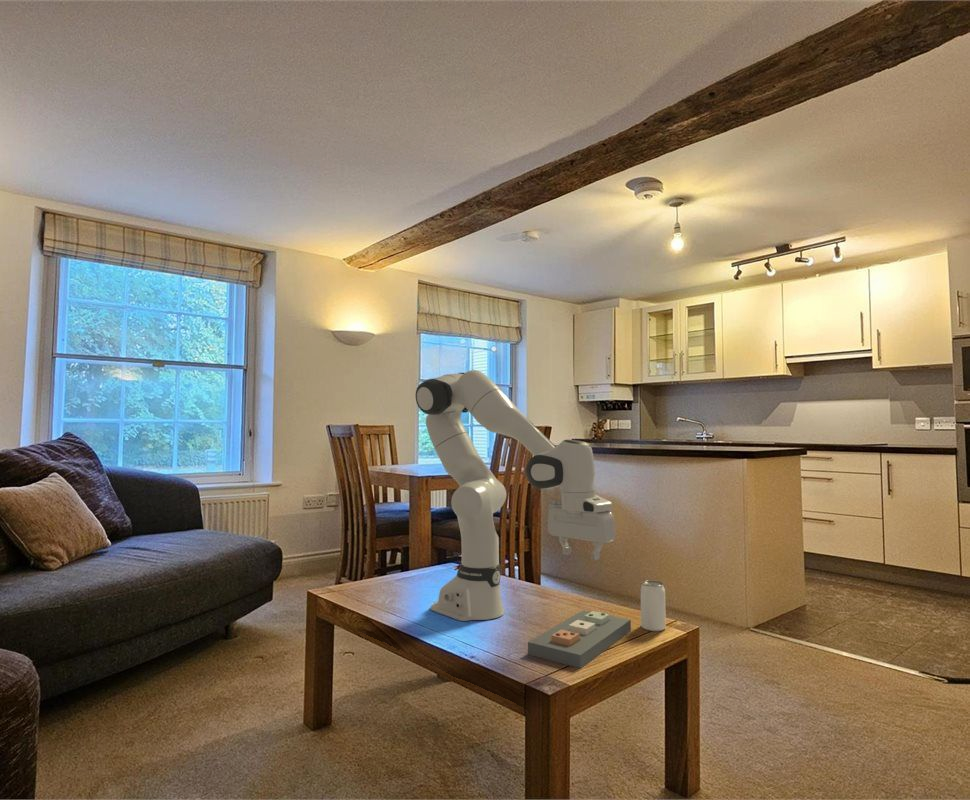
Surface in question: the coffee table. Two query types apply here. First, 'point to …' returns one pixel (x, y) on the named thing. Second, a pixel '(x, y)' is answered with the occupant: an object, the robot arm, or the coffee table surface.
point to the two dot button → (597, 618)
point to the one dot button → (582, 627)
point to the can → (653, 606)
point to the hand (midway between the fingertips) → (581, 556)
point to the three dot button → (565, 638)
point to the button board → (585, 646)
